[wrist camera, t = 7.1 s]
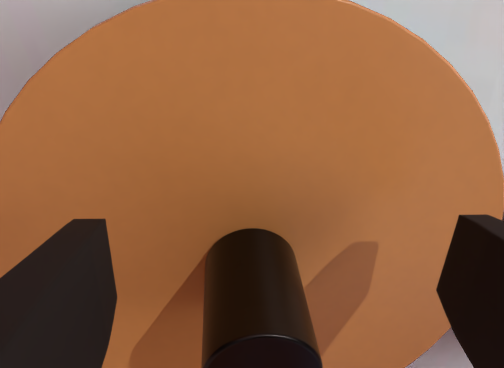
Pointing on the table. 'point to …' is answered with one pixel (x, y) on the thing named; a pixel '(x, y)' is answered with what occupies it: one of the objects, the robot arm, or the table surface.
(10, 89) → the table surface
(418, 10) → the table surface
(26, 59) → the table surface
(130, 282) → the lid
